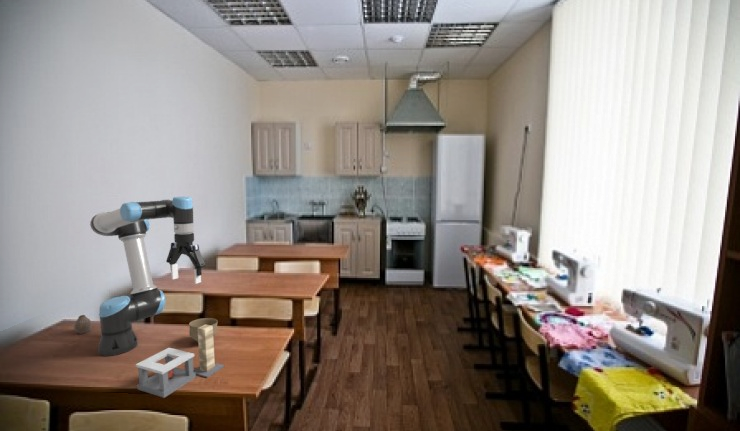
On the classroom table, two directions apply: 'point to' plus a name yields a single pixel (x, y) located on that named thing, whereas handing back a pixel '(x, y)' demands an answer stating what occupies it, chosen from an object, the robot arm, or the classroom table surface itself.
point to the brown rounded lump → (82, 324)
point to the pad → (209, 373)
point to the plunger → (170, 373)
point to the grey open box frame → (165, 372)
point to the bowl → (200, 322)
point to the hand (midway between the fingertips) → (186, 280)
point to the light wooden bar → (206, 347)
